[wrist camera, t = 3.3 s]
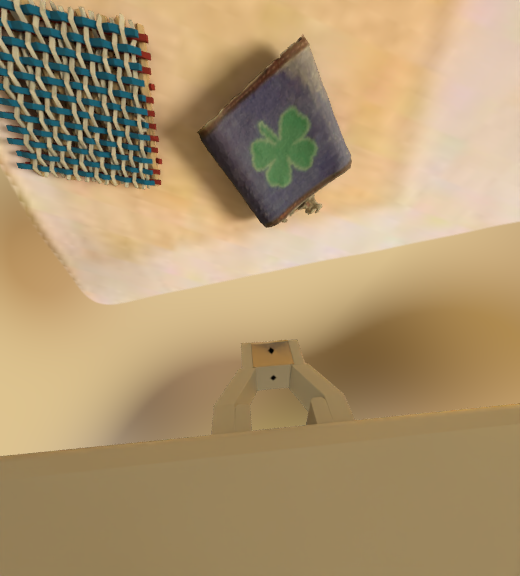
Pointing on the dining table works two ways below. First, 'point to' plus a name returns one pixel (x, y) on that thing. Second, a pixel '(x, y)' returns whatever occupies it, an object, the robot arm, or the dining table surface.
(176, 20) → the dining table surface
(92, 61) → the woven mat
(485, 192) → the dining table surface
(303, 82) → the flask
